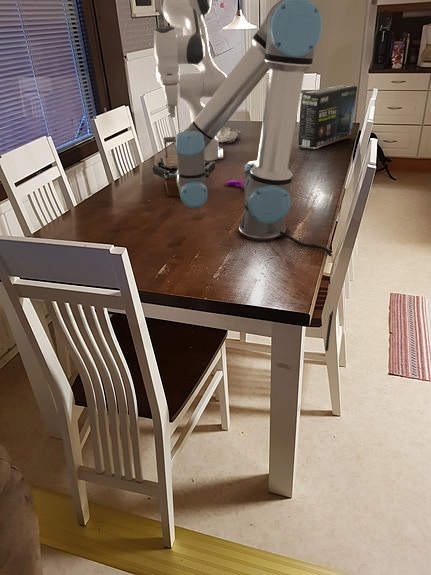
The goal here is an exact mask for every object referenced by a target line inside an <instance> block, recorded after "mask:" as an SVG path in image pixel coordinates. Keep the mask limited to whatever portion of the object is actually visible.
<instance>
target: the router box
mask: <svg viewBox="0 0 431 575" xmlns="http://www.w3.org/2000/svg"><path fill="white" fill-rule="evenodd" d="M357 93H358V86H356V85H350V84H339V85H338V84H337V85H334V86H328V87H324V88H318V89H314V90H309V91H304V92H301V95H300V109H299V110H300V111H299V124H298V137H297V146H298V145H302V146H307V147H317V146H320V145H323V144H325V143H328V142H331V141H333V140H336V139H338V138H341V137H344V136H347V135H351V136H352V133H353V132H352V131H353V125H354V115H355V109H356V99H357ZM311 151H313V150H312V149H311Z"/></svg>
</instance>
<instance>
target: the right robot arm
mask: <svg viewBox="0 0 431 575" xmlns="http://www.w3.org/2000/svg"><path fill="white" fill-rule="evenodd" d="M322 19H323V18H322V15H321V13H320V11H319V9H318V7H317V6H316V5H315V4H314V3H313V2H312V1H311V0H280V1H278V2H276V3H275V4H274V5H273V6H272V7H271V8H270V10H269V12H268V13H267V15H266V16H265V18H264V20H263V22H262V24H261V25H260V27H259V28H258V30H257V31H256V33H255V34H254V35H253V36H252V38H251V45H250V47H249V48H248V49H247V50H246V52H245V53H244V54H243V56H242V57H241V58H240V60H239V61H238V62H237V63H236V65H235V66H234V68H232V70H231V71H230V72H229V74H228V75H227V78H226V79H225V81H224V82H223V83H222V84H221V86H220V87H219V88H218V90H217V91H216V92H215V93H214V95H213V96H212V97H210V98H209V100H208V101H207V103H205V104H204V105H205V106H204V108H203V109H202V110H201V112H200V113H199V114H198V115H197V117H196V118H195V119H194V121H193V122H192V123H191V122H190V124H189V126H188V127H187V128H185V129H184V131H180V132H179V133H177V134H176V135H175V137H176V142H175V150H176V151H175V152H176V155H177V164H178V167H177V166H175V167H170V166H166V165H164V162H163V157H160V161H158V162H157V165H156V164H153V165H152V173H153V174H154V175H155V176H158V177H160V178H162V179H163V180H164V181H165V180H166V181H168V180H169V179H170V178H172V177H173V178H174V179H176V182H177V186H178V189H179V193H180V196H179V198H180V200H181V202H182V203H183V205H185V206H186V207H188V208H190V209H198V208H200V207H203V206H204V205H205V204H206V203H207V201H208V199H209V198H208V197H209V193H208V188H207V182H206V180H207V178H209V176H210V174H211V173H213V172H214V170H216V161H215V160H211V161H208V160H205V148H206V147H207V146H208V145H209V143H210V142H211V141H212V139H213V138H214V137H215V135H216V134H217V133H218V132H219V131H220V130H221V129H222V127H225V124H227V122H228V121H229V120H230V119H231V117H232V116H233V115H234V114H235V112H236V111H237V110H238V108H240V106H241V105H242V104H243V102H245V100H246V99H247V98H248V96H249V95H250V94H251V93H252V91H253V90H254V89H255V88H256V87H257V85H259V83H260V82H261V81H262V80H263V78H264V77H265V76H266V75H267V73H268V77H267V85H266V92H265V98H264V99H265V100H264V106H263V116H262V123H261V130H260V137H259V144H258V154H257V160H251V161H248V162H246V163H245V164H244V171H243V174H244V181H245V190H244V211H243V213H242V216H241V220H240V221H239V223H238V225H239V226H238V232H239V235H240V236H241V237H242V238H244V239H247V240H250V241H254V242H271V241H277V240H279V239H281V238H283V237H285V238H286V239H288V240H290V241H292V242H293V243H295V244H297V245H298V246H299V245H300V246H301V247H307V248H316V249H320V250H323V251H324V252H325V253H326V254H327V256H329V257H333V254H332V252H331V251H330V250H329V249H328V248H327V247H326V246H323V245H318V244H314V243H304V242H302V241H300V240H298V239H296V238H294V237H293V236H291V235H289V234H288V233H287V223H286V221H285V217H286V216H288V214H289V213H290V210H291V205H292V198H291V195H290V194H291V188H292V181H293V173H292V171H291V169H290V168H289V165H290V159H291V153H292V147H293V143H294V136H295V130H296V125H297V118H298V111H299V107H300V106H299V105H300V102H301V93H302V88H303V81H304V75H305V73H306V71H307V70H308V69H309V68H311V67H312V66H313V60H314V56H315V55H314V54H315V50H316V47H317V45H318V43H319V41H320V39H321V35H322V31H323V20H322ZM333 315H334V310H332V311H331V313H330V314H329V315H328V316H329V317H328V324H327V331H326V340H325V352H328V351H329V345H330V337H331V329H332V321H333V317H334V316H333Z"/></svg>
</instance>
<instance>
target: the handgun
mask: <svg viewBox="0 0 431 575" xmlns="http://www.w3.org/2000/svg"><path fill="white" fill-rule="evenodd" d="M225 185H226V186H227V187H228V186H236V188H241V189H242V190H243V191H245V179H242V178H241V179H237V180H234V179H233V180H225Z"/></svg>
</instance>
